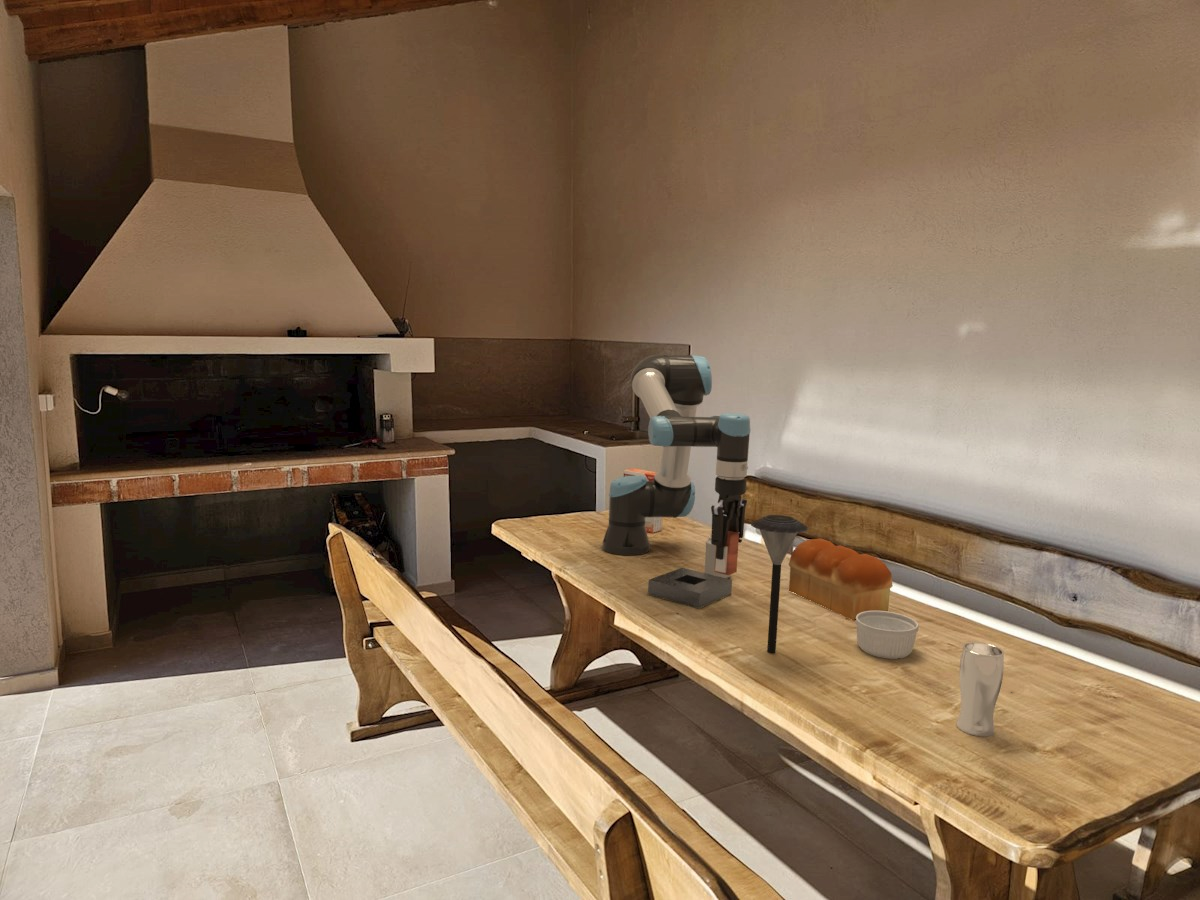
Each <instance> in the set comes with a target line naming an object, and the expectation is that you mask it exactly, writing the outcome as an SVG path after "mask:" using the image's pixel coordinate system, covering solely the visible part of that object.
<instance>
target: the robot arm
mask: <svg viewBox="0 0 1200 900" xmlns="http://www.w3.org/2000/svg"><path fill="white" fill-rule="evenodd" d="M712 385H713V378H712V371H711V366H710V363H709V361H708V359H707V358H706V357H704V356H701V355H694V354H689V355H688V354H684V355H683V354H652V355H650V356H647V357H645V358H643V359H642V360H640V361H638V363H637V364H636V366H635V367H634V368H633V370H632V372H631V375H630V386H631V389H632V391H633V393H634V394H635V395H636V397H638V398H639V399H641V402H642V404H643V406H644V408H645V411H646V412H647V414H648V416H649V422H648V426H647V427H648V428H647V429H648V430H647V431H648V432H647V435H648V441H649V442H650V443H649V444H651V445H652V446H655V447H662V453H661V461H660V468H659V470H658V471H656V472H657V473H656V474H655V476H654V481H647V478H646V477H645V476H625V477H624V476H622V477H618V478H615V479H613V480H612V481H611V482H610V486H609V493H608V496H609V501H608V503H609V506H608V509H609V510H608V526H607V529H606V532H605V534H604V536H603V540H602V547H601V548H602V549H601V550H603V551H605V552H607V553H609V554H613V555H621V556H622V555H623V556H637V555H638V556H639V555H643V554H648V553H649V552H650V546H651V544H650V541H649V536H648V534H647V533H648V532H646V529H645V518H646V517H662V518H673V519H676V518H682V517H683V518H684V517H687V516H689V514H691V512H692V510H693V509H694V505H695V501H696V496H695V495H696V486H695V483H694V482H693V481H692V478H691V477H690V476H689V474H688V470H689V463H690V455H691V449H692V447H697V448H698V447H701V448H703V447H705V448H708V447H709V448H712V447H714V448H717V449H716V462H715V464H716V465H715V475H716V477H715V479H714V481H715V483H714V491H715V492H716V494H718V498H717V499H718V500H717V504H715V505H713V504H712V505H711V507H710V509H711V510H710V511H711V534H710V535H711V544H713V545H716V565H715V571H719V572H723V573H726V567H727V550H728V547H727V546H726V541H727V535H728V531H732V532H737V533H739V541H738V544H740V543H742V541H743V537H744V527H745V517H746V516H745V515H746V508H747V503H748V500H747V499H745V498H744V499H743V498H742V495H745V494H746V492H747V479H746V477H747V474H748V473H747V472H748V470H749V466H748V461H749V460H748V458H749V448H750V447H749V446H750V445H749V444H750V434H751V418H750V416H749V415H747V414H746V413H745V414H743V413H736V412H734V413H733V412H732V413H731V412H726V413H724V412H723V413H721V414H720V415H712V416H696V414H697V407H699V406H700V405H702V403H703V402H704V401H703V400H704V396H708V395H710V394H711V392H712V388H713V386H712ZM648 551H649V552H648Z"/></svg>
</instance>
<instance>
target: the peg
mask: <svg viewBox="0 0 1200 900" xmlns="http://www.w3.org/2000/svg"><path fill="white" fill-rule="evenodd" d="M738 541H739V533H737V532H732V531H728V535H727V541H726V546H727V547H728V550H727V567H726V573H723V572H719V571H715V569H714V572H717V573H721V574H725V575H730V576H731V575H733V574H735V573H737V571H738V570H737V569H738V556H739V555H738V554H739V542H738ZM715 565H716V552H715Z"/></svg>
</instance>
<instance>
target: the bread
mask: <svg viewBox="0 0 1200 900" xmlns="http://www.w3.org/2000/svg"><path fill="white" fill-rule="evenodd" d="M788 566H789V568H790V569H789V586H788V592H789V591H791V592H794V593H796V594H797V595H796V594H795V595H796V596H798V595H800V596H802V597H804V598H803V599H805V598H806V599H805V600H807V599H808V600H807V601H809V600H811V601H813V602H815V603H814V604H816V603H817V604H816V605H818V604H820V605H822V606H824V607H823V608H825V607H826V608H825V609H827V608H828V609H827V610H829V609H830V610H829V611H831V610H832V611H831V612H834V613H836V614H838V615H840V614H841V615H840V616H842V617H845V618H847V619H849V618H850V620H851V619H852V621H855V620H854V619H856V616H857V614H859V613H861V612H865V611H888V612H889V605H890V596H891V595H890V594H891V593H890V592H891V589H892V588H893V578H892V572H891V570H890V569H889V568H888V566H887V565H886V564H885V563H884V562H883V561H882V560H881V559H879V557H875V556H873V555H870V554H868V553H861V554H860V553H859V552H858V551H856V550H854V549H852V548H849V547H846V546H843V545H841V544H840V545H835V544H834V543H832V542H831V541H830V540H826V539H823V538H822V537H821V538H813V539H806V540H804V541H802V542H801V543H799V544H797V546H796V547H794V549H793V550H792V552H791V555H790V558H789V563H788ZM791 592H790V593H791ZM800 596H799V597H800ZM802 597H801V598H802ZM811 601H810V602H811ZM813 602H812V603H813ZM820 605H819V606H820ZM822 606H821V607H822Z"/></svg>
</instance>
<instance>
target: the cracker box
mask: <svg viewBox="0 0 1200 900" xmlns="http://www.w3.org/2000/svg"><path fill="white" fill-rule="evenodd" d="M657 472H658V471H650V470H645V469H640V468H634V467H633V468H627V469H624V470H623V477H625V476H645V477H646V478H647V481H654V476H655V474H656V473H657ZM645 529H646V532H647V533H649V532H650V533H649V534H655V533H659V532H662V531H663V517H646V518H645ZM661 530H662V531H661ZM658 531H659V532H658ZM654 532H655V533H654Z"/></svg>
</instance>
